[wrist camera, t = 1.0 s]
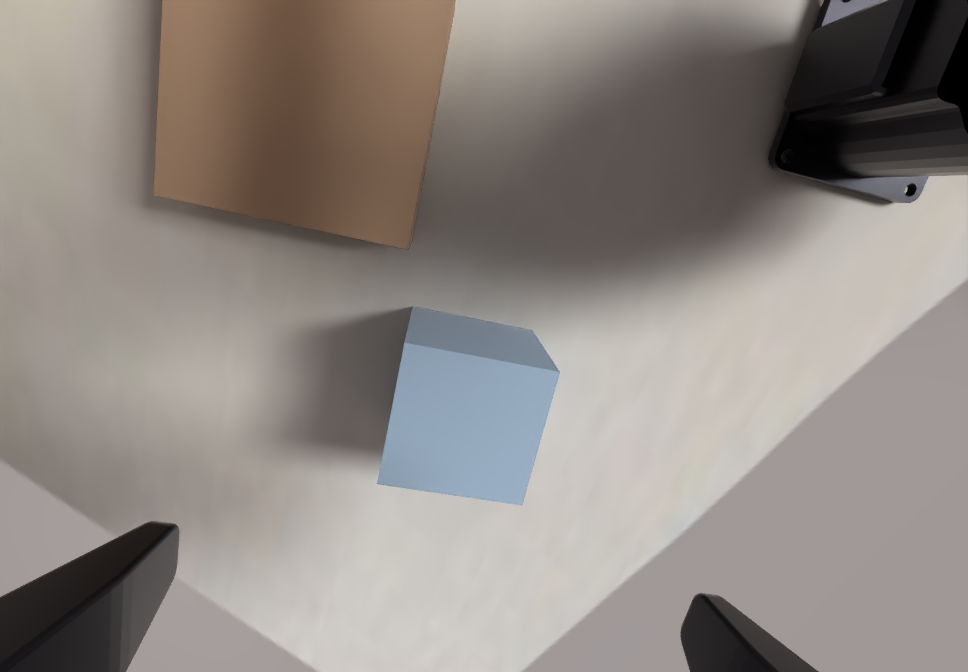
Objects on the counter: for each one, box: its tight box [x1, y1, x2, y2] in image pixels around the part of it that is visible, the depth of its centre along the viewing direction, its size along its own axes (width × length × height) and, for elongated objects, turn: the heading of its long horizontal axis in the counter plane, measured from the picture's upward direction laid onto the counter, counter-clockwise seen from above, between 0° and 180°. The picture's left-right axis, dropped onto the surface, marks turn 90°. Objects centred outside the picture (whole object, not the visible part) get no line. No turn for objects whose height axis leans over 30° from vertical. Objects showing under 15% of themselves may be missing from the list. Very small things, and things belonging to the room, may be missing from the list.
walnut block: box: [153, 0, 455, 250], centre depth 16 cm, size 8×8×3 cm
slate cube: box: [377, 307, 560, 505], centre depth 19 cm, size 5×5×5 cm
